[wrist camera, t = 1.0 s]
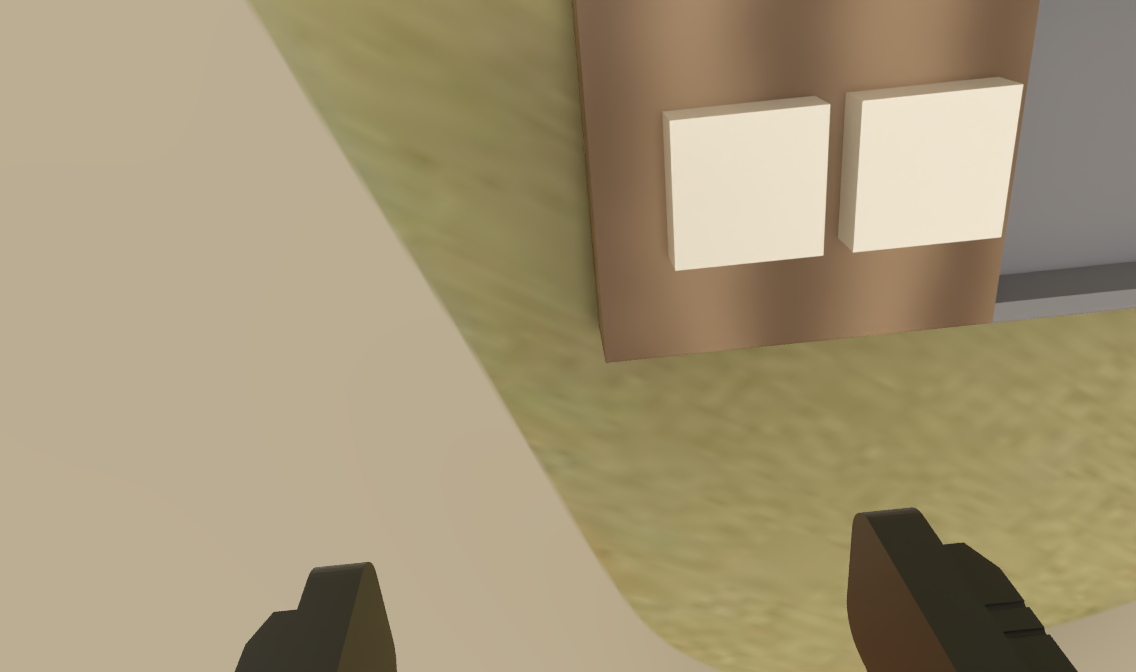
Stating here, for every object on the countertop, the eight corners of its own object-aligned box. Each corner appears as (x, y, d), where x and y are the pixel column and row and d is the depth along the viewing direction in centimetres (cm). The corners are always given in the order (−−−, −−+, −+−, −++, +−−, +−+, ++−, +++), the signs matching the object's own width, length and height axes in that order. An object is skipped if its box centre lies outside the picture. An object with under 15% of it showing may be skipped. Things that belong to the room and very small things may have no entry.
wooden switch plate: (998, -63, 28) (1048, -63, 25) (954, 291, 34) (992, 322, 31) (570, -19, 28) (575, -14, 25) (599, 328, 34) (605, 362, 31)
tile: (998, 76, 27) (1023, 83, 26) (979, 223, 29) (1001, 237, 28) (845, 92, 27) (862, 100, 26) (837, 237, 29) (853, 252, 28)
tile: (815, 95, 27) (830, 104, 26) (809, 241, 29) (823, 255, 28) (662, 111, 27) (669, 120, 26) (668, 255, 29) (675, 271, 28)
